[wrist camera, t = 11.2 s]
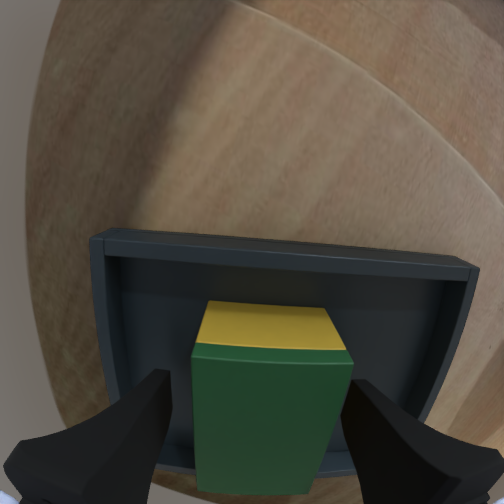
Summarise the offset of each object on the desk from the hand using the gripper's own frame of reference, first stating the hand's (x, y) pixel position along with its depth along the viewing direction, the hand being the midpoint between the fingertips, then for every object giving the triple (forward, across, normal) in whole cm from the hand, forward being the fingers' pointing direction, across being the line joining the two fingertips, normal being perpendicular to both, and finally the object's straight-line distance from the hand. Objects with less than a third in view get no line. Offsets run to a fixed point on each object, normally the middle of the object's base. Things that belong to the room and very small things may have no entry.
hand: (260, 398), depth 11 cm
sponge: (+1, 0, 0) cm, 1 cm away
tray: (+2, -1, 0) cm, 2 cm away
